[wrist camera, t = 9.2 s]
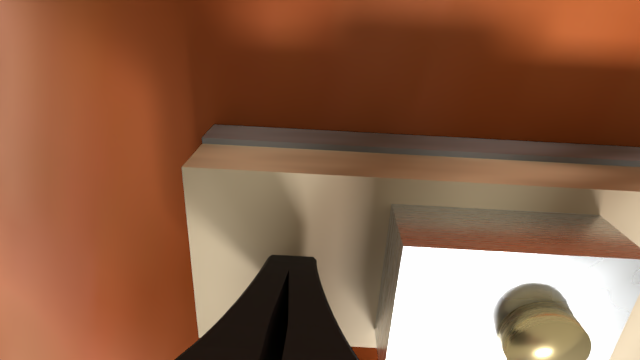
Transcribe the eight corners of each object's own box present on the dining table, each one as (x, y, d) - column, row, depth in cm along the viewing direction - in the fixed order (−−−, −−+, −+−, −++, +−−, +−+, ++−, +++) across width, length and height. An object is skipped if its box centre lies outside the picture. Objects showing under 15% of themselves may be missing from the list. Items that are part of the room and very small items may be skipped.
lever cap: (553, 340, 14) (605, 422, 11) (374, 329, 14) (384, 409, 11) (600, 215, 12) (677, 279, 9) (391, 203, 12) (408, 263, 9)
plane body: (890, 160, 14) (1048, 207, 11) (790, 310, 17) (894, 381, 14) (213, 124, 15) (180, 160, 11) (223, 278, 17) (199, 342, 14)
